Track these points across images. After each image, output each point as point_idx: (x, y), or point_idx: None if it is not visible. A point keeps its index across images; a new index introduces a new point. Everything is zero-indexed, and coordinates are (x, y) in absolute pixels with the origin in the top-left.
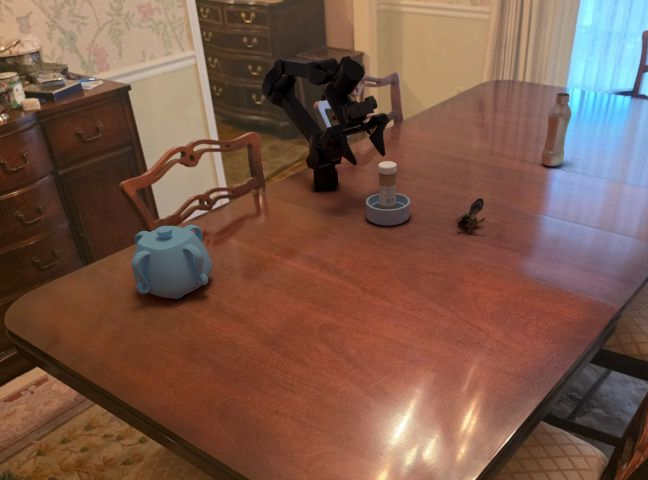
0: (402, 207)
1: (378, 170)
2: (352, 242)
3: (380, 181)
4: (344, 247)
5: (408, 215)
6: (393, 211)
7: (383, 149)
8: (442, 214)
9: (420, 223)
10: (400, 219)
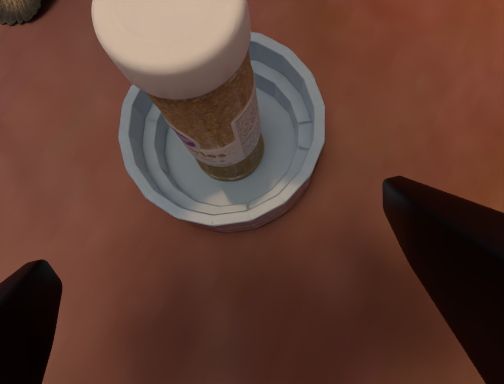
0: None
1: (248, 37)
2: (437, 28)
3: (250, 62)
4: (478, 7)
5: None
6: None
7: (2, 292)
8: (49, 84)
9: None
10: None
